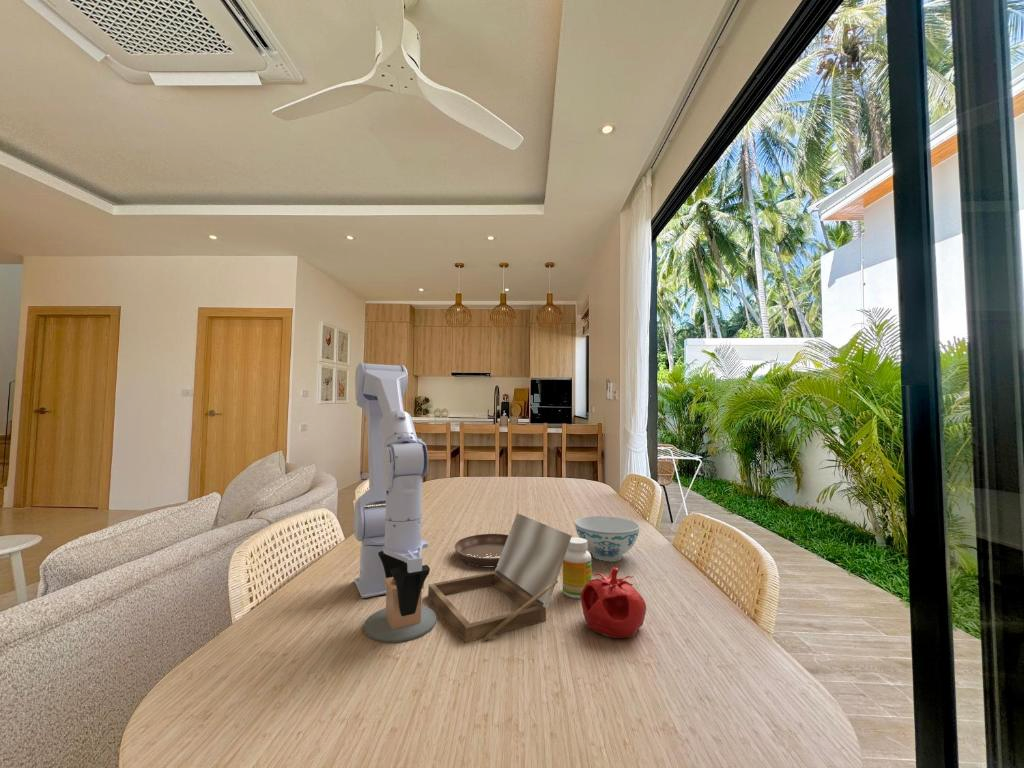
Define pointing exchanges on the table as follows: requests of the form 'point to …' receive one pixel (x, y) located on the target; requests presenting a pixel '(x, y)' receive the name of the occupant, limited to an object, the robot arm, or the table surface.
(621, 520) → the chinaware
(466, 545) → the plant saucer
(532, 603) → the cold frame
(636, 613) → the hollow red tomato
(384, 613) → the mat
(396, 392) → the robot arm
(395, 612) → the orange block with dome
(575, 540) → the supplement bottle
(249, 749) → the table surface
